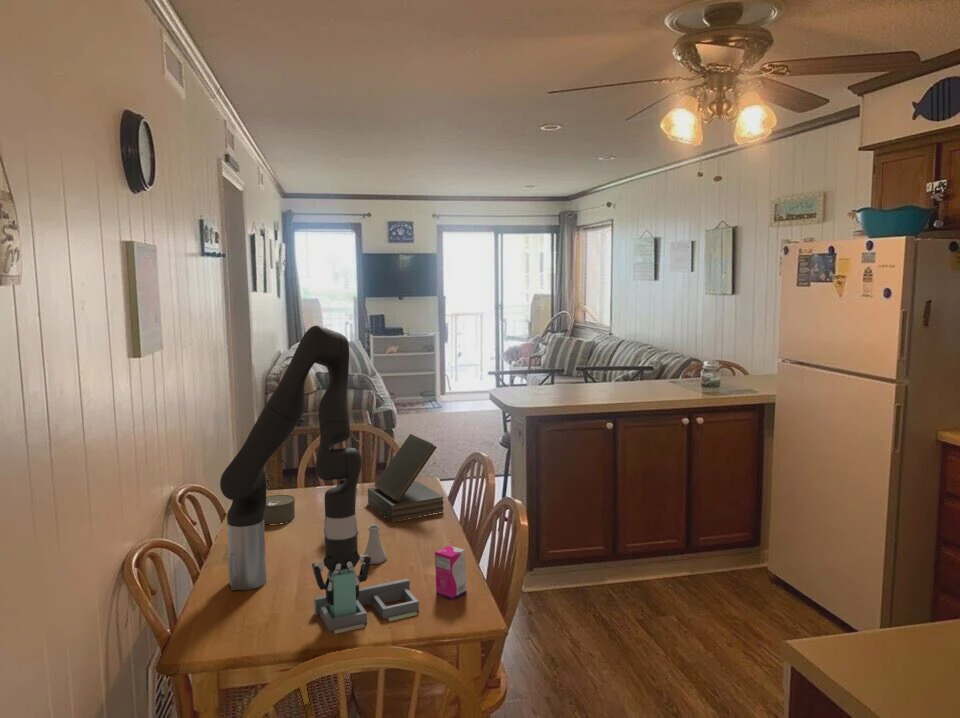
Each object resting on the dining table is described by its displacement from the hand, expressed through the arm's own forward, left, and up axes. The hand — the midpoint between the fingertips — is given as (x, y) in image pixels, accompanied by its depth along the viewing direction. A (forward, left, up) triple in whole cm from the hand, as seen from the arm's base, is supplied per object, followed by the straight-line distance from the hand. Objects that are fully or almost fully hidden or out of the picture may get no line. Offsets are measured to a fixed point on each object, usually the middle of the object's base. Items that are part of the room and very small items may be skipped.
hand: (342, 601), depth 162 cm
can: (-2, +80, -5) cm, 80 cm away
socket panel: (+6, 0, -4) cm, 8 cm away
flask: (+17, +31, -5) cm, 36 cm away
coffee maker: (+15, +57, -5) cm, 59 cm away
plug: (0, 0, -4) cm, 4 cm away
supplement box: (+28, +1, -5) cm, 29 cm away
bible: (+41, +71, -5) cm, 82 cm away
